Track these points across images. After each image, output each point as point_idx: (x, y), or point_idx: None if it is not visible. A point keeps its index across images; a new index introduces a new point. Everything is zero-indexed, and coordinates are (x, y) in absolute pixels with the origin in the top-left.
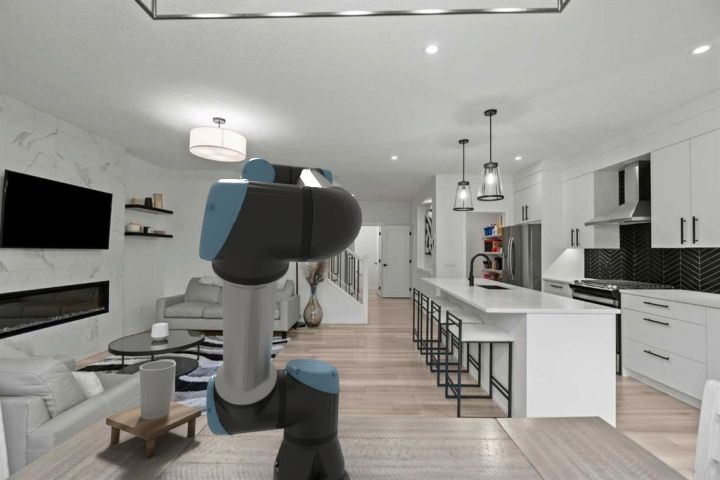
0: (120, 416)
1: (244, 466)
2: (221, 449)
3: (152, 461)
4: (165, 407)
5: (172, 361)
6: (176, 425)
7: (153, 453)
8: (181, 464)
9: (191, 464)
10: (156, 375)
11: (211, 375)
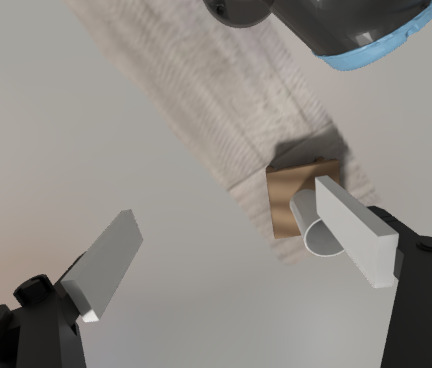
0: None
1: (277, 60)
2: (269, 115)
3: (323, 149)
4: (305, 193)
5: (305, 239)
6: (301, 165)
7: (319, 158)
8: (312, 121)
9: (306, 112)
10: None
11: (421, 27)
